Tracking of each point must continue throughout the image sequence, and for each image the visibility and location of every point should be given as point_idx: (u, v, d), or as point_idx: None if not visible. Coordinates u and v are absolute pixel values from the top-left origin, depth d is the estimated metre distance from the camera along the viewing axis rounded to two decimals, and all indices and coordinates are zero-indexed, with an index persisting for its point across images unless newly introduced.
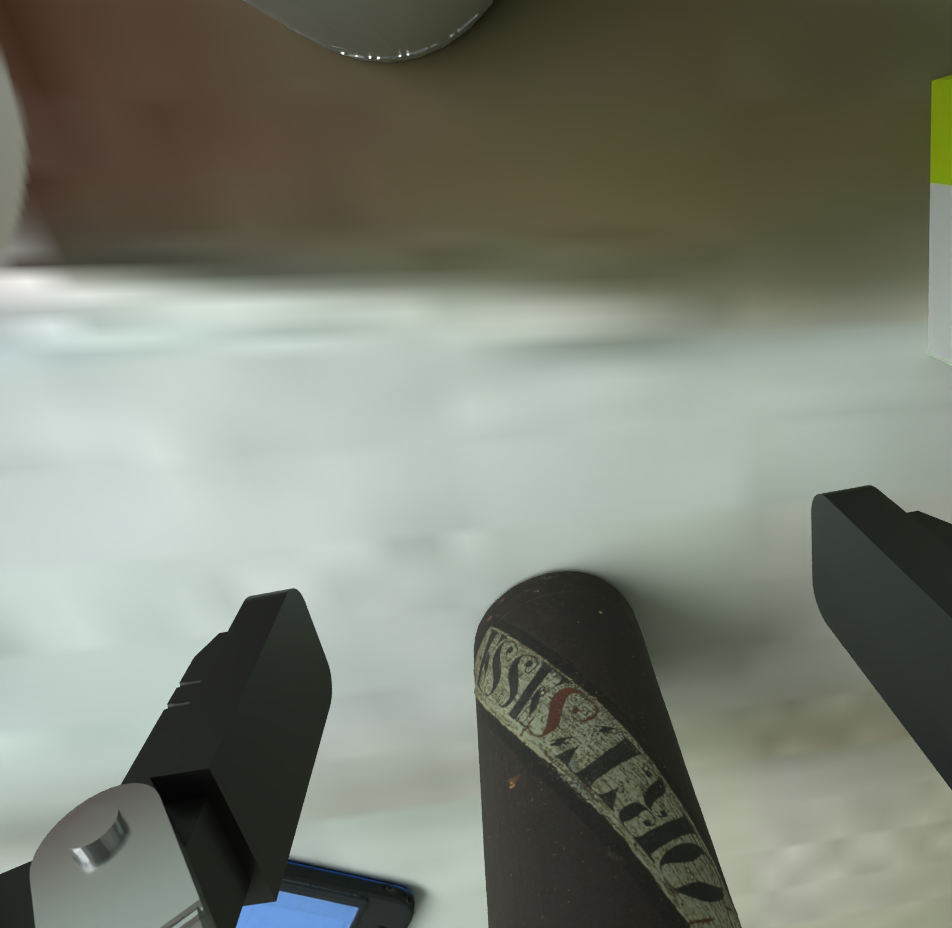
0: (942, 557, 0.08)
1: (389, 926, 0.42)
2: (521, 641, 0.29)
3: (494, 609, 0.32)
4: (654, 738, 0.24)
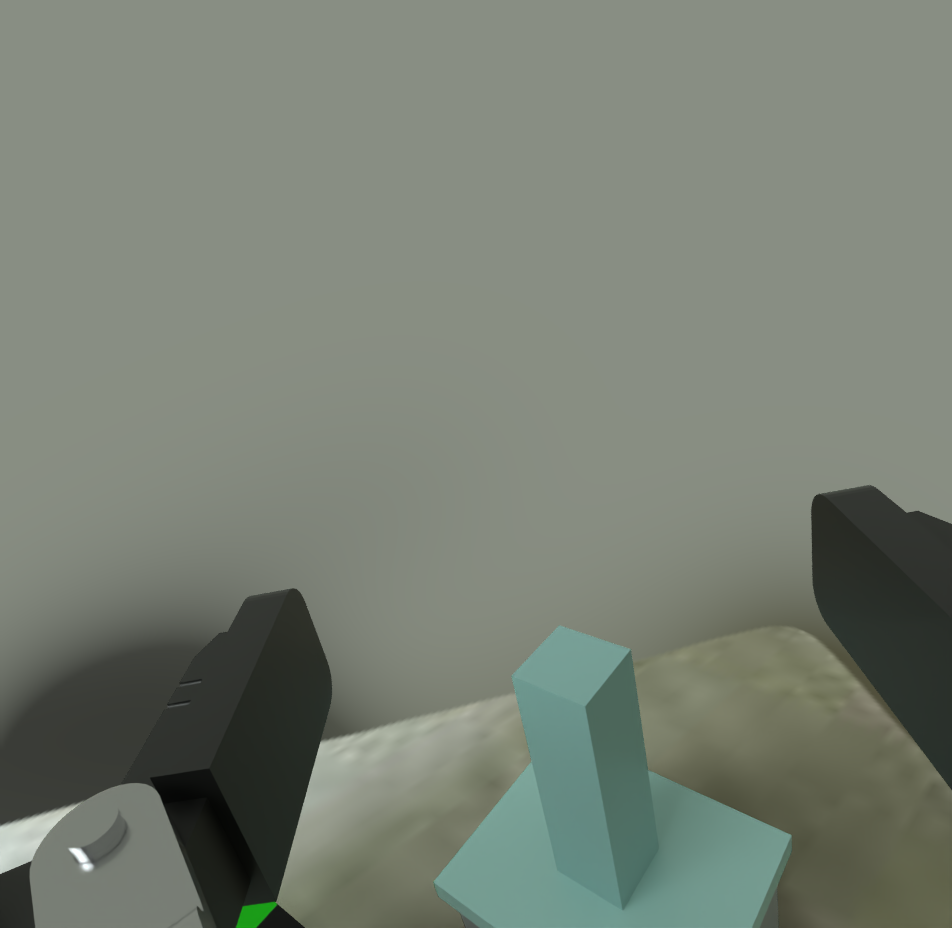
0: (942, 557, 0.08)
1: None
2: None
3: None
4: None
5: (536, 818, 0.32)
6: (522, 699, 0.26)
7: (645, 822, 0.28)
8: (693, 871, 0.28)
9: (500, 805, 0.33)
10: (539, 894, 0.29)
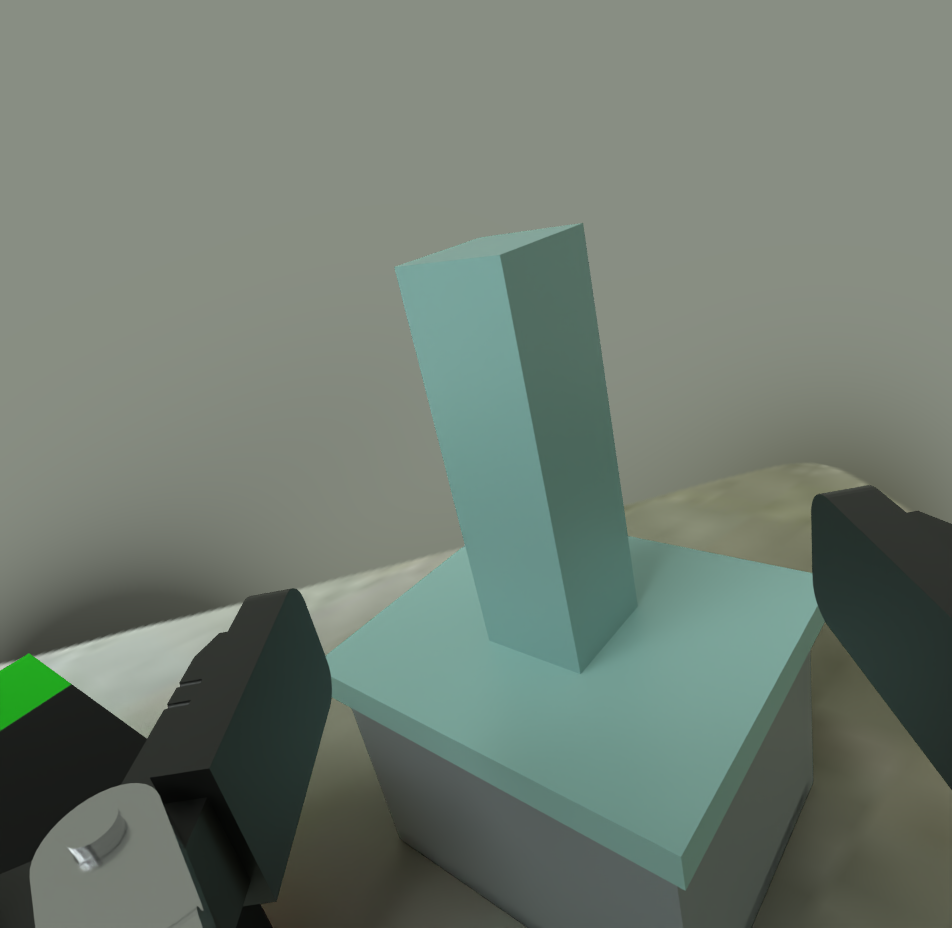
0: (942, 557, 0.08)
1: None
2: None
3: None
4: None
5: (467, 593, 0.23)
6: (413, 309, 0.16)
7: (615, 549, 0.19)
8: (687, 625, 0.19)
9: (419, 585, 0.24)
10: (460, 666, 0.20)
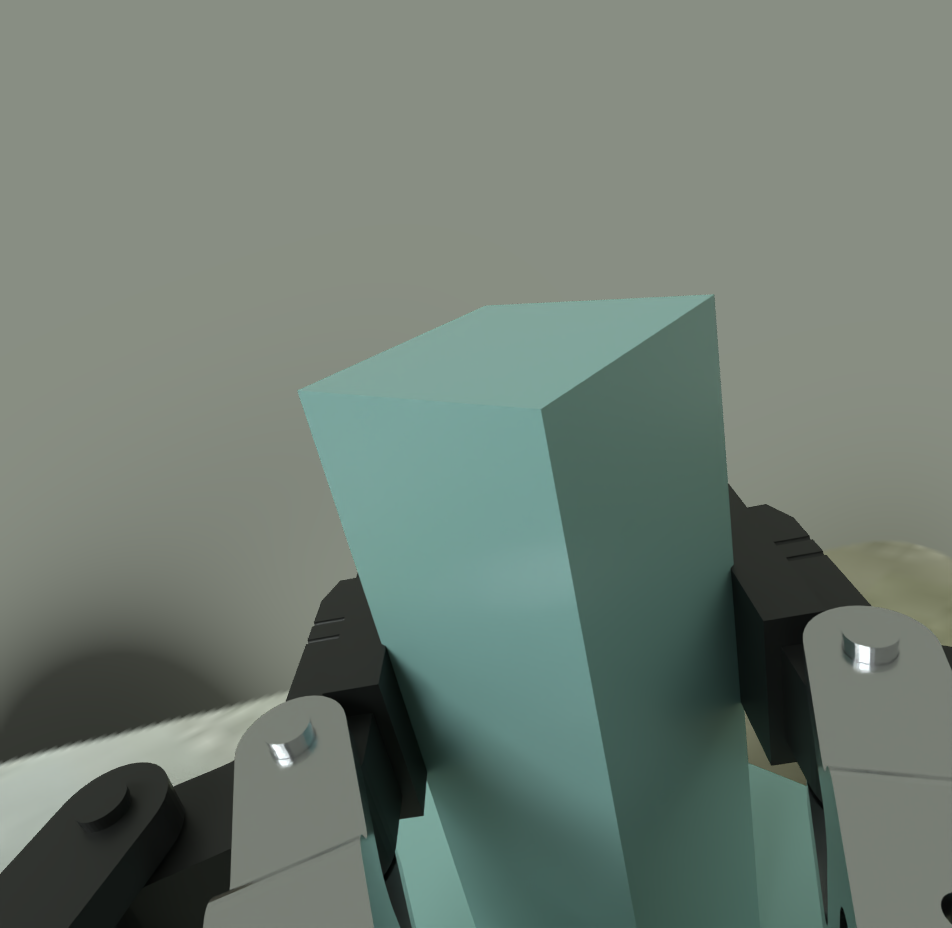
0: (760, 544, 0.09)
1: None
2: None
3: None
4: None
5: None
6: (341, 479, 0.07)
7: (736, 881, 0.10)
8: None
9: None
10: None
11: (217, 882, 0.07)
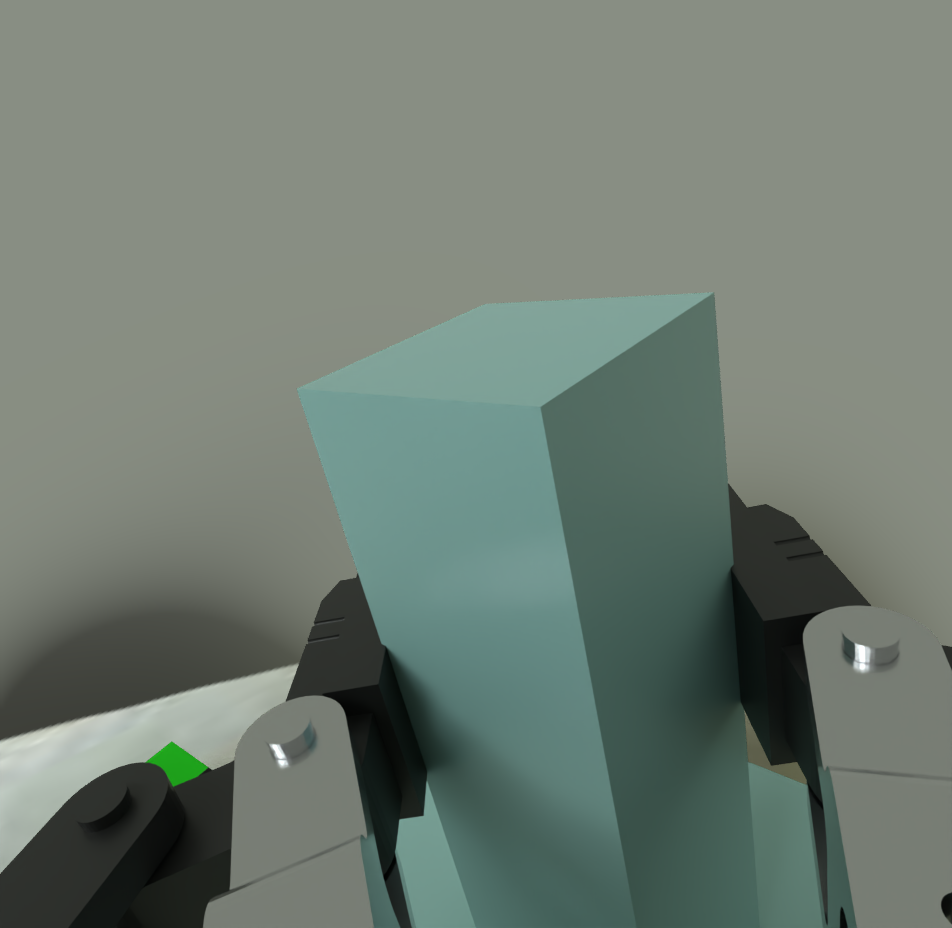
0: (760, 544, 0.09)
1: None
2: None
3: None
4: None
5: None
6: (341, 477, 0.07)
7: (736, 880, 0.10)
8: None
9: None
10: None
11: (217, 882, 0.07)
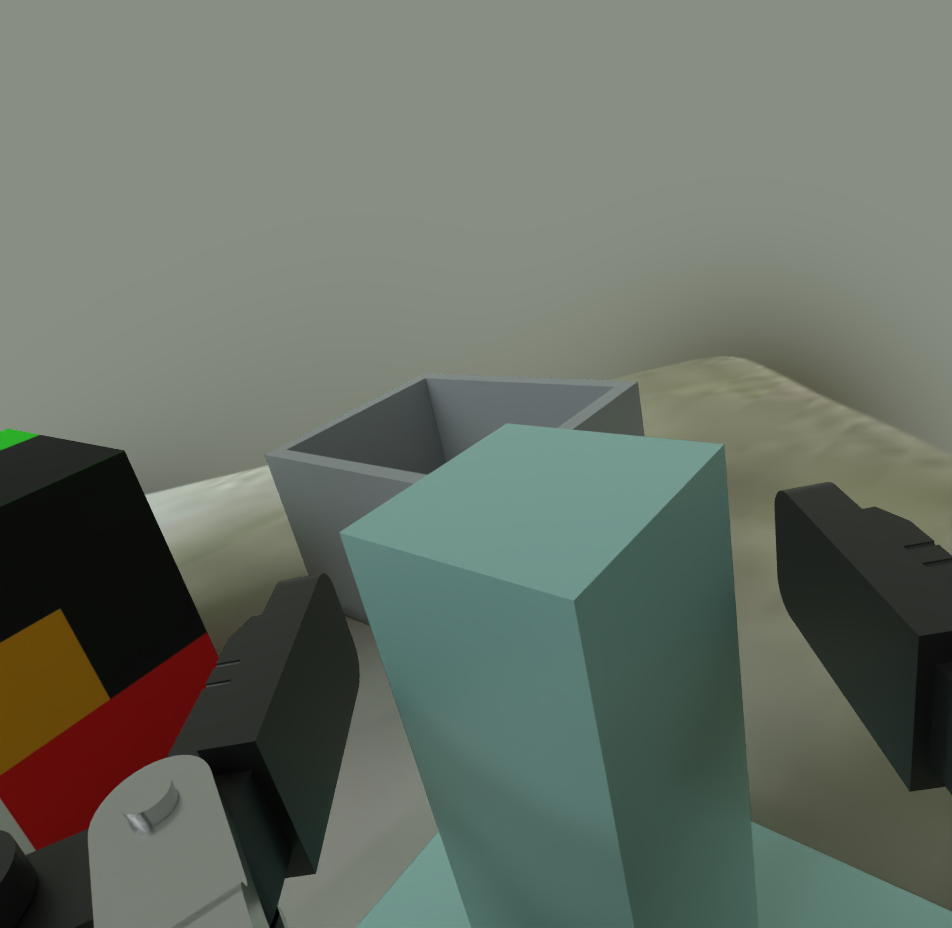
0: (891, 550, 0.08)
1: None
2: None
3: None
4: None
5: None
6: (379, 611, 0.08)
7: None
8: None
9: (404, 881, 0.16)
10: None
11: None
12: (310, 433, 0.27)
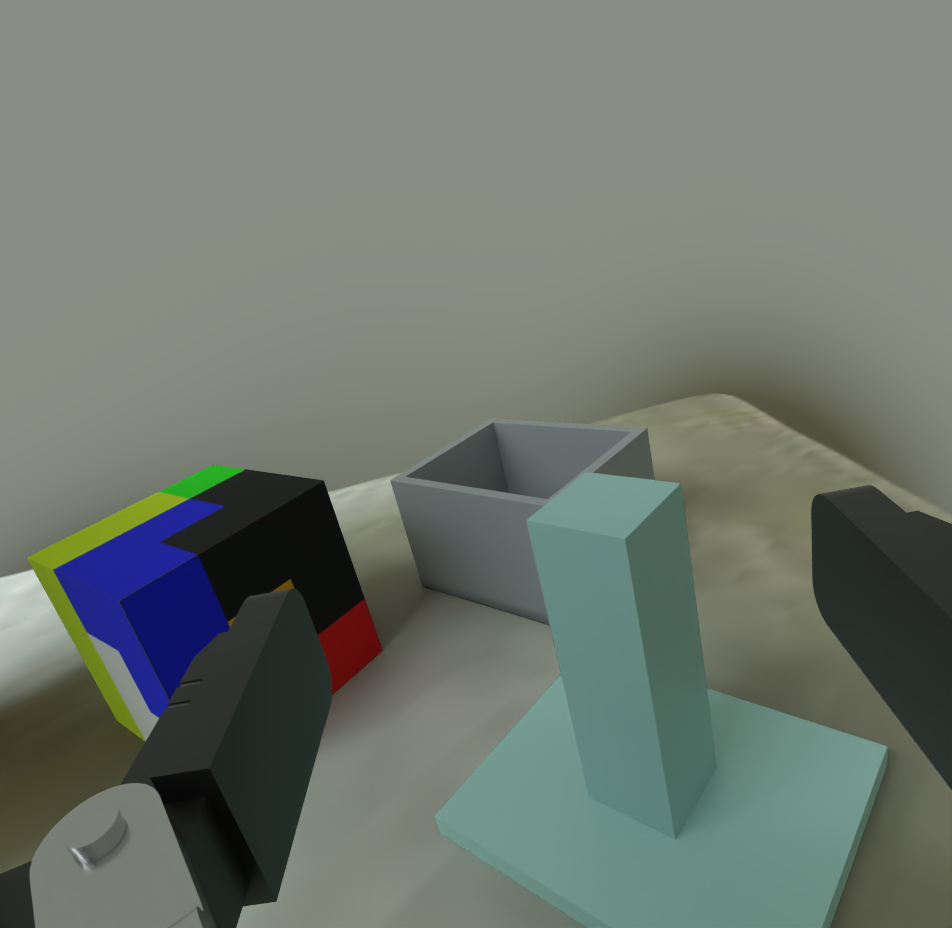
0: (943, 557, 0.08)
1: None
2: None
3: None
4: None
5: (561, 741, 0.26)
6: (541, 552, 0.20)
7: (701, 728, 0.22)
8: (764, 791, 0.22)
9: (516, 729, 0.27)
10: (567, 824, 0.23)
11: None
12: (418, 464, 0.39)
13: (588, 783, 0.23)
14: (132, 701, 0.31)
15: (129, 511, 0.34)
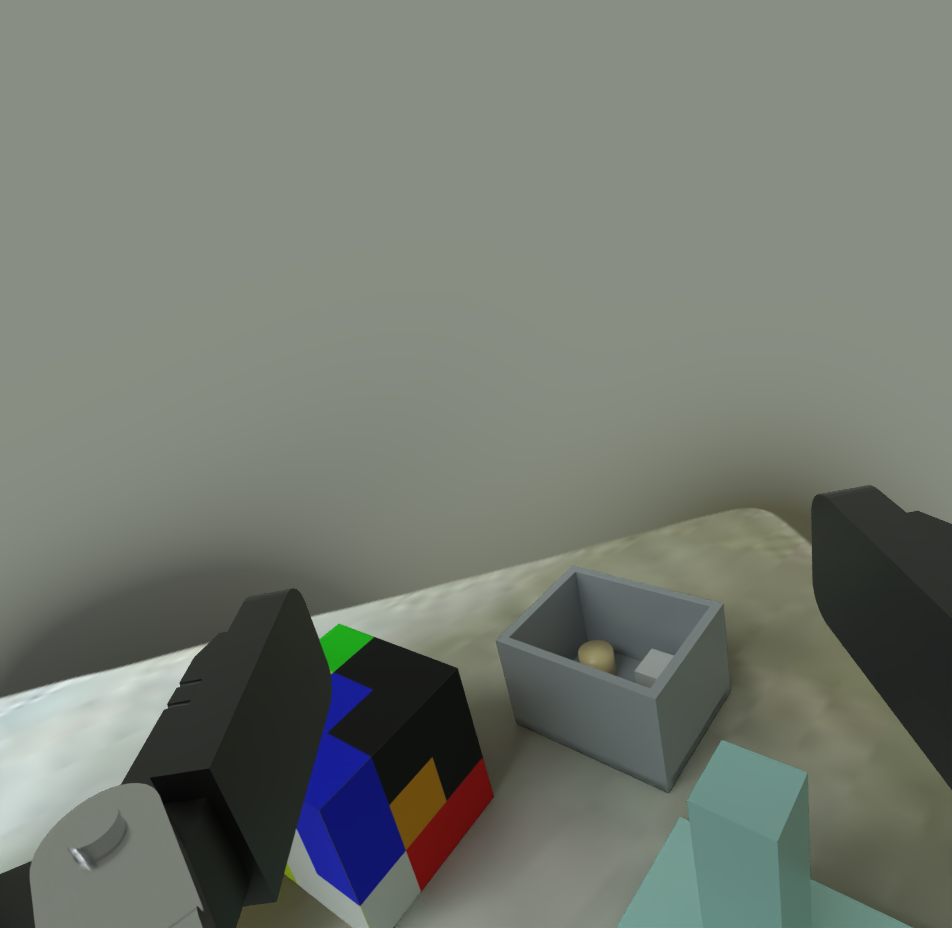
0: (942, 557, 0.08)
1: None
2: None
3: None
4: None
5: (676, 919, 0.32)
6: (696, 823, 0.25)
7: None
8: None
9: (635, 902, 0.33)
10: None
11: None
12: (517, 622, 0.44)
13: None
14: (295, 858, 0.36)
15: None
